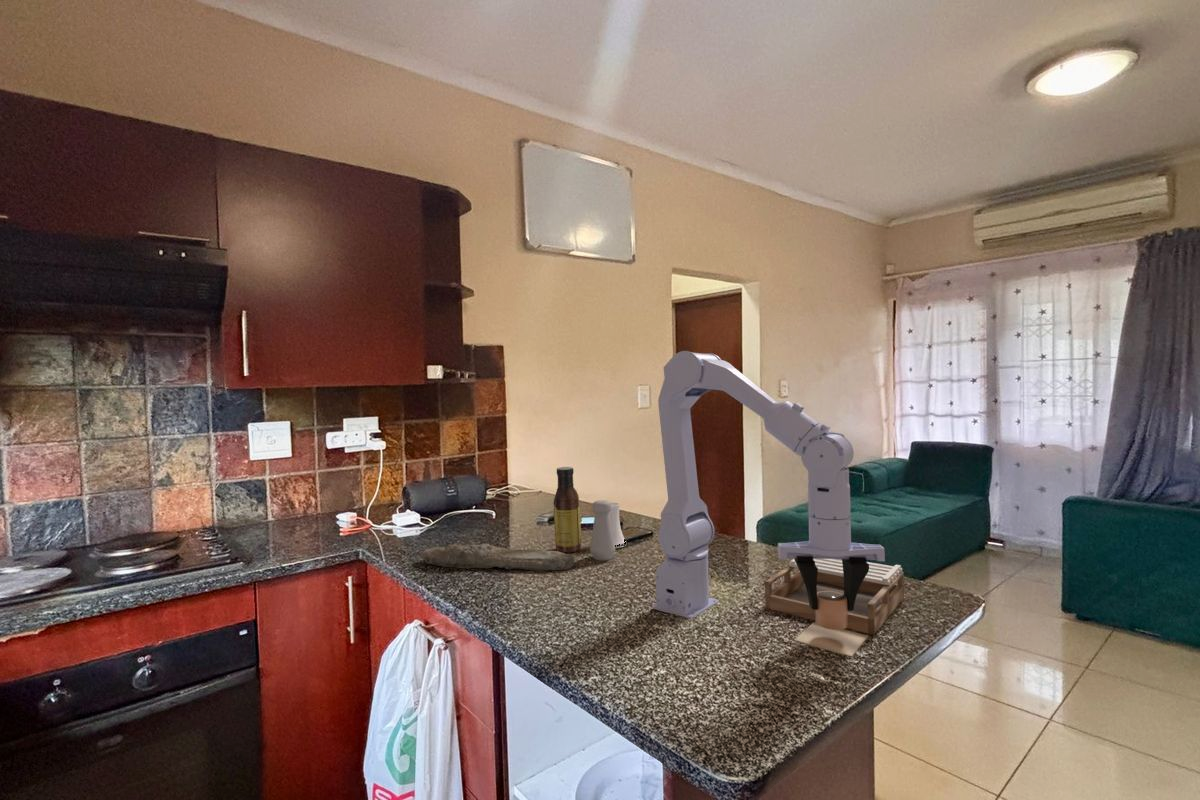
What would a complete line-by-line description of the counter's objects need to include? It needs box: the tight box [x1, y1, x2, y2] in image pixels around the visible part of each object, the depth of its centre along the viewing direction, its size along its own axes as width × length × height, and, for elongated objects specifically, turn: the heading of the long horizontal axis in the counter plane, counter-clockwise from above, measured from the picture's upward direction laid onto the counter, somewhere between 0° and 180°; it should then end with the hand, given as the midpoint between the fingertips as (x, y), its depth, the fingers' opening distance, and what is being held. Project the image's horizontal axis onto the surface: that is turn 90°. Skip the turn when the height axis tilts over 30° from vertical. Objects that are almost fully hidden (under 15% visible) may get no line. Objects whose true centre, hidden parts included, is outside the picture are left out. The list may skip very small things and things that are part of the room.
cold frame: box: [764, 566, 905, 636], centre depth 95 cm, size 19×17×5 cm
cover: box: [788, 558, 903, 585], centre depth 98 cm, size 9×17×1 cm, turn 49°
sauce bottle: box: [553, 466, 582, 554], centre depth 132 cm, size 7×6×20 cm
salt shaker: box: [589, 499, 616, 562], centre depth 125 cm, size 6×6×13 cm
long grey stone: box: [421, 542, 575, 572], centre depth 122 cm, size 35×5×10 cm
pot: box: [814, 591, 848, 630], centre depth 81 cm, size 4×4×4 cm
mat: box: [794, 621, 869, 658], centre depth 81 cm, size 8×8×1 cm
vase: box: [609, 502, 627, 549], centre depth 136 cm, size 8×8×10 cm
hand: (831, 607), depth 81 cm, fingers closed on pot, 4 cm apart
